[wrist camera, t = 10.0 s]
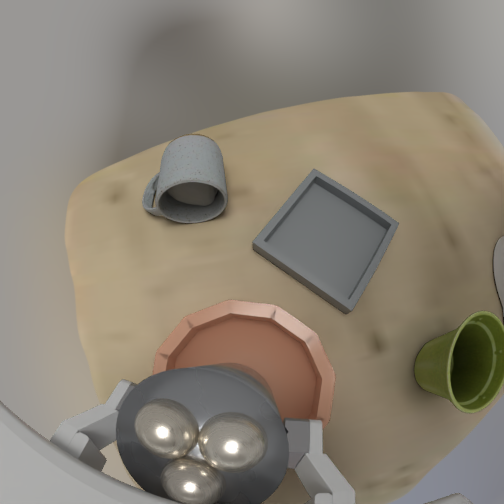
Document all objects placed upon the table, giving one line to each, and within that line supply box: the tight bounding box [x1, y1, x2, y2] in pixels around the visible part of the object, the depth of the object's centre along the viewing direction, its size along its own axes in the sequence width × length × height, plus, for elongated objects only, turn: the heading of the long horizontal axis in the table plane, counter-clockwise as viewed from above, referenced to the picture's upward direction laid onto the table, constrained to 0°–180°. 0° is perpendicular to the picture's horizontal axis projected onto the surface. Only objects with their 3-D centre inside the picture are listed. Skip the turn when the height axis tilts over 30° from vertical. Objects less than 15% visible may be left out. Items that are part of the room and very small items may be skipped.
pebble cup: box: [116, 363, 289, 504], centre depth 10 cm, size 5×5×10 cm
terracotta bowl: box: [153, 299, 336, 430], centre depth 22 cm, size 16×16×4 cm
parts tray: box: [252, 169, 399, 314], centre depth 29 cm, size 12×12×2 cm
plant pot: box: [414, 311, 504, 413], centre depth 19 cm, size 9×9×9 cm
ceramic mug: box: [142, 134, 228, 223], centre depth 29 cm, size 11×8×8 cm
